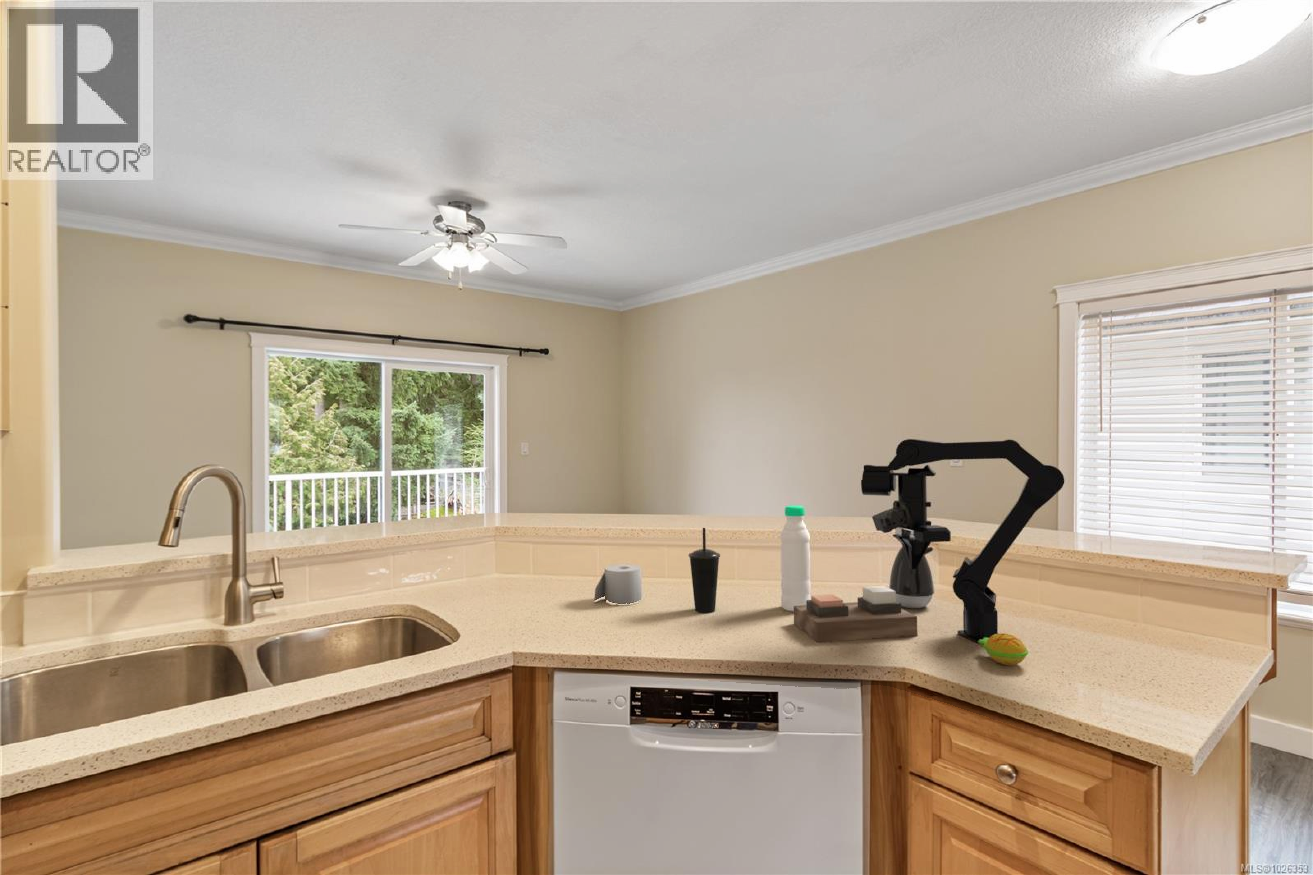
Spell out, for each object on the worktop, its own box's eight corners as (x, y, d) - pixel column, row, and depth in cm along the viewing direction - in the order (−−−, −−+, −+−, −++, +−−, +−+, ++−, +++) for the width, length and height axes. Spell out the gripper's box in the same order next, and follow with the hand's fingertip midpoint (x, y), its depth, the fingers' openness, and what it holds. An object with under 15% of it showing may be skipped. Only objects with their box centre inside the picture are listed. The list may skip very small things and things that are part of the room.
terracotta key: (843, 614, 132) (842, 600, 132) (820, 615, 132) (820, 601, 132) (833, 608, 137) (832, 594, 137) (811, 609, 136) (811, 595, 136)
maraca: (995, 671, 111) (995, 641, 111) (972, 651, 121) (971, 624, 121) (1036, 671, 110) (1036, 641, 110) (1009, 652, 120) (1008, 624, 120)
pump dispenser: (942, 611, 148) (941, 547, 148) (898, 611, 149) (897, 547, 149) (924, 600, 159) (924, 540, 159) (883, 600, 159) (882, 540, 159)
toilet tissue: (586, 603, 159) (585, 570, 159) (626, 594, 168) (625, 562, 168) (608, 610, 153) (607, 575, 153) (648, 600, 162) (648, 567, 162)
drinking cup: (720, 606, 155) (719, 525, 155) (720, 615, 148) (719, 530, 148) (690, 605, 156) (689, 525, 156) (688, 614, 148) (687, 530, 148)
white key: (895, 605, 134) (895, 591, 134) (873, 606, 133) (873, 592, 133) (883, 599, 139) (883, 585, 139) (862, 600, 138) (862, 586, 138)
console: (917, 635, 131) (916, 606, 131) (817, 642, 127) (817, 612, 127) (885, 618, 143) (884, 591, 143) (793, 623, 140) (793, 596, 140)
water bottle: (811, 613, 148) (810, 507, 148) (781, 612, 149) (779, 507, 149) (810, 605, 155) (809, 504, 155) (781, 604, 156) (780, 504, 156)
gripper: (857, 493, 143) (857, 561, 143) (901, 502, 125) (901, 580, 125) (902, 492, 145) (902, 559, 145) (952, 500, 127) (952, 577, 127)
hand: (913, 568), depth 135 cm, fingers closed
